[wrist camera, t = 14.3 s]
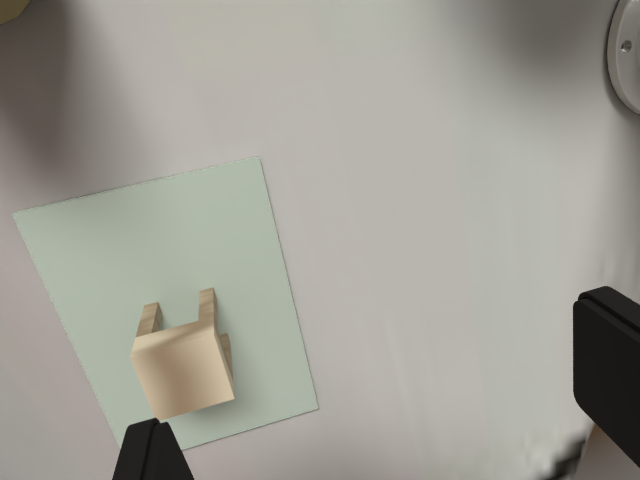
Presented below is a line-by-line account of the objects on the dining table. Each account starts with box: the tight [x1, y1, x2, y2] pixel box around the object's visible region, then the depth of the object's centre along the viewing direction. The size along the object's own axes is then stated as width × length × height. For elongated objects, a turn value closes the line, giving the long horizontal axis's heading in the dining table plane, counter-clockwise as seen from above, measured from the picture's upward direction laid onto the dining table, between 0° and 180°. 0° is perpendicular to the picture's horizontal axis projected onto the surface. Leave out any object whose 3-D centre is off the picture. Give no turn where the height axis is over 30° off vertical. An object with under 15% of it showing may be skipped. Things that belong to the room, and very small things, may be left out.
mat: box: [12, 156, 319, 450], centre depth 36 cm, size 16×22×1 cm
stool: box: [130, 288, 235, 421], centre depth 32 cm, size 5×5×6 cm
